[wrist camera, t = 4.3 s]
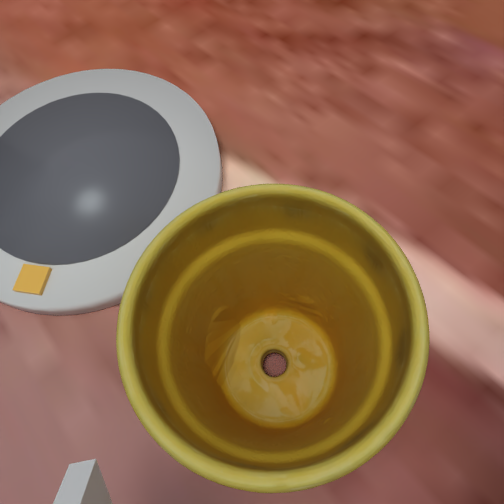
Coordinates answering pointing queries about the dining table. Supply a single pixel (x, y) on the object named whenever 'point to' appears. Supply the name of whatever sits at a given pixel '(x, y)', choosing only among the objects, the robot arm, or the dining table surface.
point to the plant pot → (272, 338)
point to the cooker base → (94, 183)
